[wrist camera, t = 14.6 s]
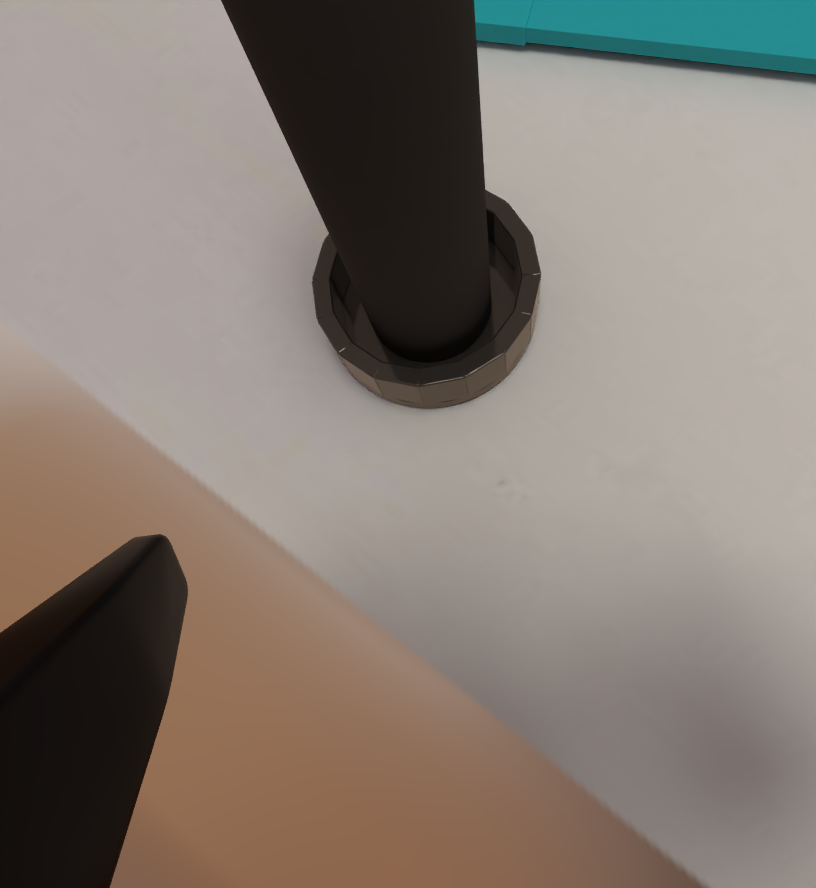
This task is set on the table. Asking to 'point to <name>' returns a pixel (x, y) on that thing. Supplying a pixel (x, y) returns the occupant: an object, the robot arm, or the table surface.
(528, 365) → the table surface
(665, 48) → the floppy disk
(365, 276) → the post
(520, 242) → the socket pad
